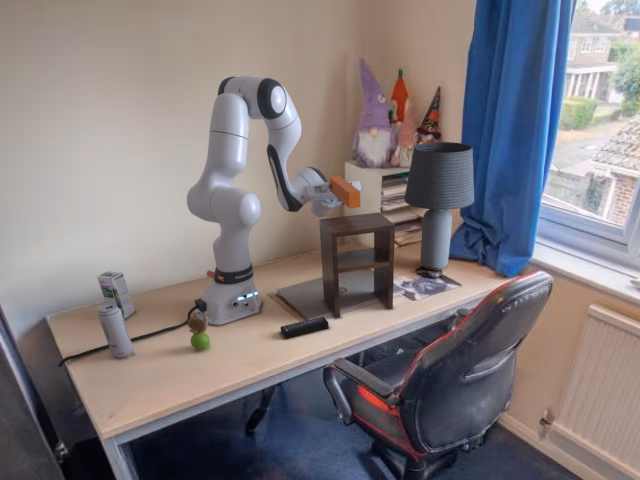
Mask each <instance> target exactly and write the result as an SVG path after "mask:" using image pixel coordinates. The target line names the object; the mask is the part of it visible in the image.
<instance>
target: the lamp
mask: <svg viewBox="0 0 640 480" xmlns="http://www.w3.org/2000/svg"><path fill="white" fill-rule="evenodd" d="M473 150H474V149H473V146H472V145H470V144H467V143H462V142H453V141H432V142H423V143H419V144H415V145H414V147H413V151H412V156H411V161H410V166H409V172H408V178H407V183H406V188H405V194H404V199H403V201H404V202H405V203H406V204H407V205H409V206H412V207H415V208H418V209H424V210H426V211H425V212H424V213H423V216H422V224H421V225H422V226H421V243H420V244H421V245H420V259H419V260H420V265H421V266H422V267H423V266H429V267H433V268H438V269H434V270H433V271H441V270H443V269H444V268H446V267H447V266H448V263H449V257H450V247H451V239H452V238H451V237H452V236H451V235H452V224H453V214H452V213H451V211H450V210H458V209H464V208H466V207H470V206H471V205H473V204H474V203H475V181H474V151H473Z"/></svg>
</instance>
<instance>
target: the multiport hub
mask: <svg viewBox="0 0 640 480" xmlns="http://www.w3.org/2000/svg"><path fill="white" fill-rule="evenodd" d="M329 328H330V327H329V321H328V320H327V319H326V318H325V317H324V316H320V317H315V318H312V319H307V320H303V321H299V322H298V321H297V322H293V323H290V324H286V325H282V326H280V328H279V329H280V335H282V337H283V338H284V339H285V340H288V339H293V338H297V337H301V336H305V335H308V334H313V333H317V332H321V331H325V330H329Z"/></svg>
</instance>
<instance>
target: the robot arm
mask: <svg viewBox="0 0 640 480" xmlns="http://www.w3.org/2000/svg"><path fill="white" fill-rule="evenodd" d="M217 89H218V90H217V96H216V98H215V100H214V103H213V107H212V111H211V116H210V124H209V133H208V134H209V135H208V146H207V156H206V162H205V165H204V168H203V170H202V173H201V175H200V177H199V179H198V181H197V182H196V183H195V184H194V185H193V186H192V187H190V188H189V189H188V192H187V195H186V204H187V209H188V210H189V212H190V213H191V215H193V216H194V217H196V218H198V219H200V220H203V221H206V222H210V223H215V224H218V225H219V227H220V235H219V236H218V237H217V238H216V239H215V240H214V241H213V243H212V251H213V252H212V253H213V257H214V261H215V268H214V271H212V270H209V269H208V270H207V271H206V274H205V275H206V276H207V277H209V278H211V279H212V278H213V281H212V282H211V283H210V284H209V286H208V287H207V288H206V289H205V291H204V292H203V294H202V295H201V296H200V298H197V299H195V300H194V306H193V307H192V308H191V309H190V310H189V311H188V312H187V317H186V318H187V319H186V320H185V321H184V322H182V323H181V324H178V325H173V326H168V327H165V328H162V329H159V330H156V331H152V332H149V333H146V334H142V335H138V336H135V337H130V340H131V343H132V342H135V341H138V340H142V339H145V338H149V337H153V336H156V335H159V334H162V333H166V332H168V331H174V330H176V329H179V328H181V327H184V326H186V325H188V320H189V319H190V318H192V313H193V312H194V311H195V312H194V314H195V317H196V318H199V319H200V320H201V321H202V322H203V323H204V320H203V316H207V317H208V320H207V321H208V325H211V326H222V325H225V324H228V323H232V322H234V321H237V320H241V319H244V318H246V317H249V316H253V315H256V314H258V313H260V307H261V305H262V300H261V297H260V296H259V294H258V291H257V287H256V284H255V279H254V268H253V263H252V262H251V258H250V257H251V256H250V247H249V237H250V233H251V230H252V228H253V227H254V226H255V225H256V224H257V223H258V221H259V219H260V217H261V213H262V206H261V202H260V200H259V198H258V197H257V195H256V194H254V193H252V192H250V191H248V190H246V189H243V188H239V187H232V185H233V182H234V180H235V178H236V177H237V176H238V175H239V174H241V173H242V172H243V171H244V170H245V169H246V166H247V157H248V148H249V147H248V145H249V133H250V131H249V130H250V120H263V122H264V124H265V126H266V129H267V133H268V143H267V147H266V156H267V160H268V163H269V166H270V167H269V168H270V170H271V174H272V178H273V181H274V184H275V188H276V194H277V199H278V202H279V204H280V206H281V207H282V208H283V209H284V210H285V211H286V212H289V213H298V212H299V211H300V210H301V209H302V208H303V207H304V206H305V205H306V204H307V203H310V205H309V206H310V207H309V208H310V212H311V213H312V214H313V215H314V216H315V217H317V218H326V217H327V216H329V215H330V214H331V213H332V212H333V211H334V210H335V209H336V208H339V207H340V206H343V205H345V204H344V203H343V202H342V201H340V200H339V199H338V198H337V197H336V196H335V195H334V194H333V193H332V192H330V189H331V188H332V185H331V182H329V180H328V179H327V178H326V176H325V174H323V172H322V171H321V170H320V169H318V168H316V167H313V166H306V167H304V168H303V169H301V171H300V172H298V173H297V174H296V175H295V176H294V177H292V178H291V179H290V180H289V175H288V172H287V162H288V159H289V157H290V155H291V153H292V152H293V150H294V148H295V147H296V145H297V144H298V142H299V140H300V138H301V135H302V130H303V129H302V122H301V119H300V116H299V113H298V111H297V109H296V106H295V104H294V101H293V100H292V98H291V96H290V94H289V92H288V91H287V89H286V88H285V86H284V85H283V84H282V83H280V82H279V81H278V80H276V79H273V78H270V77H257V76H252V75H244V76H228V77H226V78H224V79H223V80H222V81H221V82H220V84H219V86H218V88H217ZM347 182H348V183H350V184H351V185H352V186H354V187H355V188H356V189H357V190H359V191H360V193H362V183H361V182H360V180H351V181H347ZM205 312H207V315H205ZM106 349H110V348H109V345H108V344H105V345H101V346H99V347H98V346H97V347H95V348H93V349H88V350H86V351H83V352H81V353H77V354H72V355H68V356H66V357H64V358H63V359H61V360H60V362H59V363H58V365H57V367H58V368H61V367H63V365H64V364H65V363H66V362H68V361H71V360H75V359H78V358H81V357H84V356H86V355H90V354H93V353H95V352H99V351H102V350H106Z"/></svg>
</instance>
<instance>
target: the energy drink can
mask: <svg viewBox="0 0 640 480" xmlns="http://www.w3.org/2000/svg"><path fill="white" fill-rule="evenodd" d="M97 309H98V313H97V317H98V320H99V324H100V325H101V328H102V332H103V334H104V336H105V338H106V342H107V345H109V348H108V349H109V351H110V353H111V355H112V356H114V357H115V358H117V359H125V358H128V357H129V356H131V355H132V354H133V351H134V346H133V343H132V342H131V340H130V339H131V337H130V334H129V330H128V328H127V324H126V322H125V319H123V316H122V313H121V310H120V309H119V308H118V307H117V305H115V304H106V303H105V304H103V305H101V306H99V307H98V308H97Z"/></svg>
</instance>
